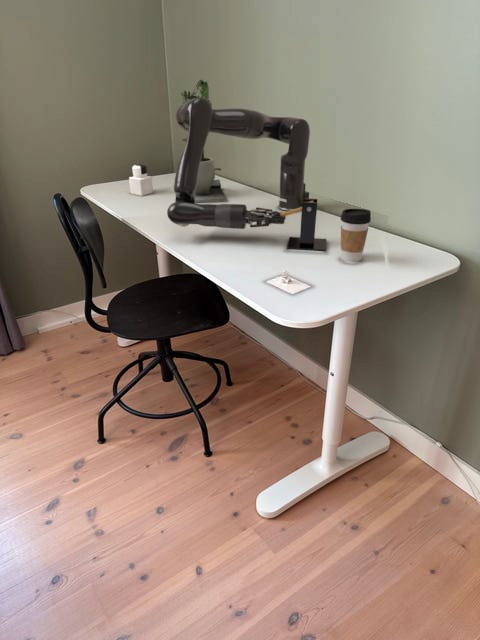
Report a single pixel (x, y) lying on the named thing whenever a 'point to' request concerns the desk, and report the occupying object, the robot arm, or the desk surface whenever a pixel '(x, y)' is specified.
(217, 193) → the potted plant
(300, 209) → the black ball knob lever
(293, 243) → the black lever stand
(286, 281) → the adhesive hook
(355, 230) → the coffee cup
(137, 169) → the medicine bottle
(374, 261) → the desk surface
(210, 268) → the desk surface
